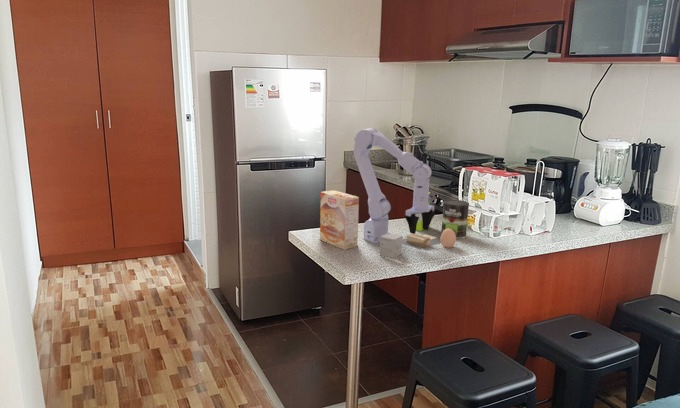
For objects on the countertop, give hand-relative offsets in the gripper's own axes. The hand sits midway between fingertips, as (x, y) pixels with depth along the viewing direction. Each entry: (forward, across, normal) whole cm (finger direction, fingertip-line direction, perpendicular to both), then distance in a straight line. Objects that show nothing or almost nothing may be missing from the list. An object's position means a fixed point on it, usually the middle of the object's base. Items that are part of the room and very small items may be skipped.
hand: (419, 231), depth 199 cm
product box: (+6, -17, -1) cm, 18 cm away
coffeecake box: (+6, -23, +21) cm, 31 cm away
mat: (+6, +4, +2) cm, 7 cm away
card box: (+5, 0, 0) cm, 5 cm away
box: (+6, +19, +15) cm, 25 cm away
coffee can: (+6, +22, 0) cm, 23 cm away
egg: (+6, +7, -9) cm, 13 cm away
